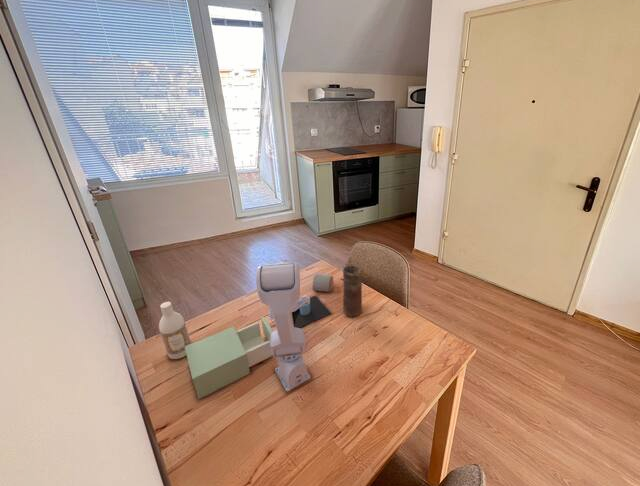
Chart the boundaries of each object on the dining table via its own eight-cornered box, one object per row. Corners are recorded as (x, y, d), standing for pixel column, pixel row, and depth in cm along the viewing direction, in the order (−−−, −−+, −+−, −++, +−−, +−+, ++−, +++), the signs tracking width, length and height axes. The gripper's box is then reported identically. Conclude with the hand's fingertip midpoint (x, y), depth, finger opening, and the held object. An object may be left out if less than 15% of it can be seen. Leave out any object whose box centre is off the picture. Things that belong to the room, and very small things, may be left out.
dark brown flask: (340, 307, 120) (340, 266, 112) (356, 302, 123) (357, 262, 115) (347, 319, 114) (348, 277, 106) (364, 314, 117) (366, 272, 109)
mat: (330, 313, 117) (330, 312, 117) (293, 331, 108) (293, 330, 108) (315, 296, 126) (315, 295, 126) (279, 311, 118) (279, 310, 117)
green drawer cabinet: (237, 345, 102) (233, 326, 98) (250, 373, 92) (246, 353, 88) (190, 366, 94) (184, 346, 90) (198, 399, 84) (192, 378, 80)
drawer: (278, 325, 109) (277, 311, 106) (293, 347, 100) (291, 332, 97) (227, 348, 99) (224, 333, 96) (238, 375, 90) (235, 359, 87)
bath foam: (169, 363, 94) (152, 315, 86) (167, 348, 99) (152, 302, 91) (193, 354, 98) (179, 307, 89) (190, 340, 103) (177, 294, 95)
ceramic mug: (330, 295, 127) (330, 280, 124) (312, 293, 128) (311, 279, 125) (334, 281, 137) (334, 267, 134) (317, 279, 137) (317, 265, 134)
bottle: (312, 312, 117) (311, 300, 114) (302, 316, 115) (302, 304, 112) (307, 306, 120) (306, 295, 117) (298, 310, 117) (297, 299, 115)
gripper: (303, 281, 106) (304, 310, 111) (263, 296, 98) (267, 327, 103) (312, 291, 101) (313, 322, 106) (271, 308, 93) (275, 339, 98)
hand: (291, 325), depth 104 cm, fingers closed
